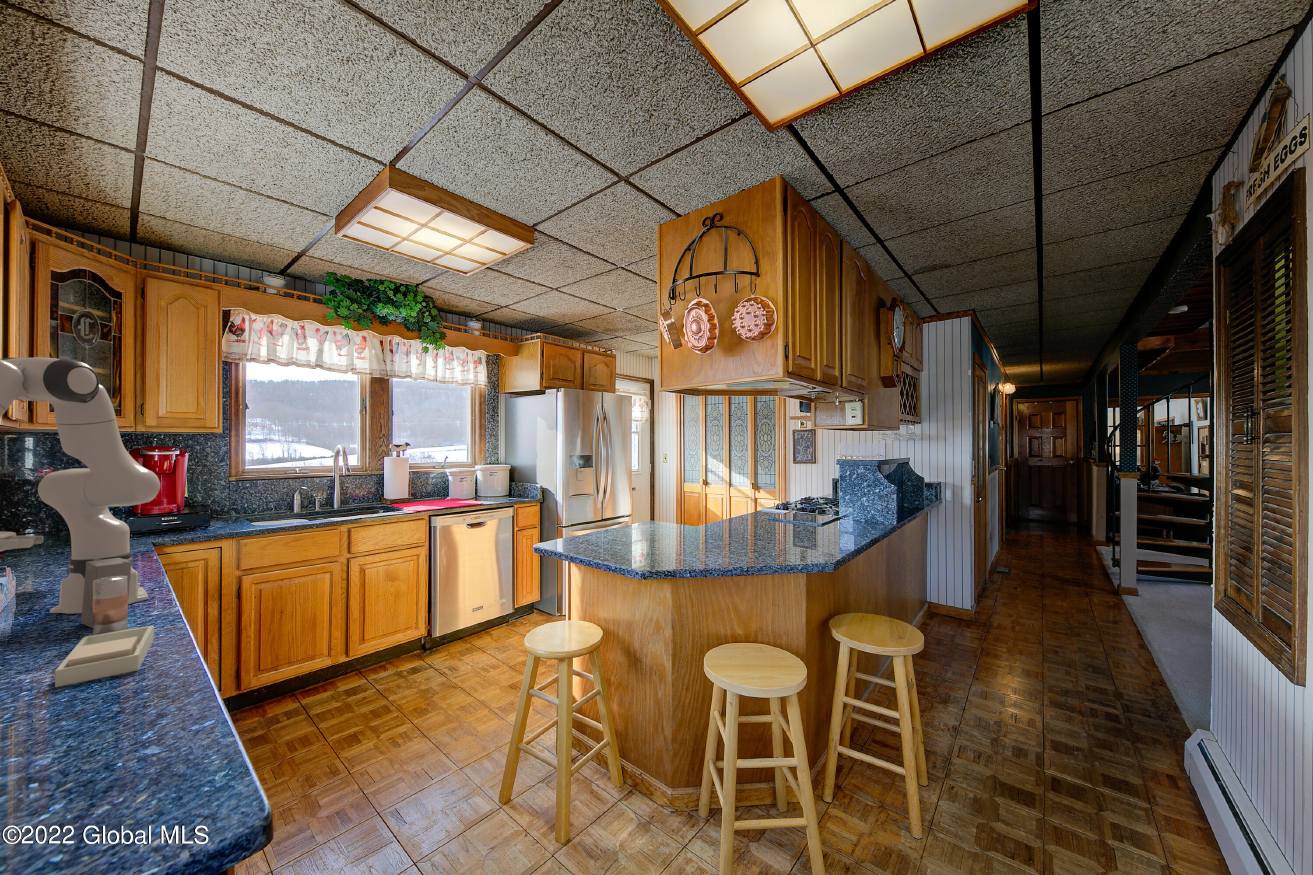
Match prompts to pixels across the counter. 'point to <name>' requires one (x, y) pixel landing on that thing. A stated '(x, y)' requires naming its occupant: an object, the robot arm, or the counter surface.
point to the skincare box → (97, 571)
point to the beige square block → (103, 651)
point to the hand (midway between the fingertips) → (37, 541)
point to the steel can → (110, 604)
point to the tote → (106, 667)
